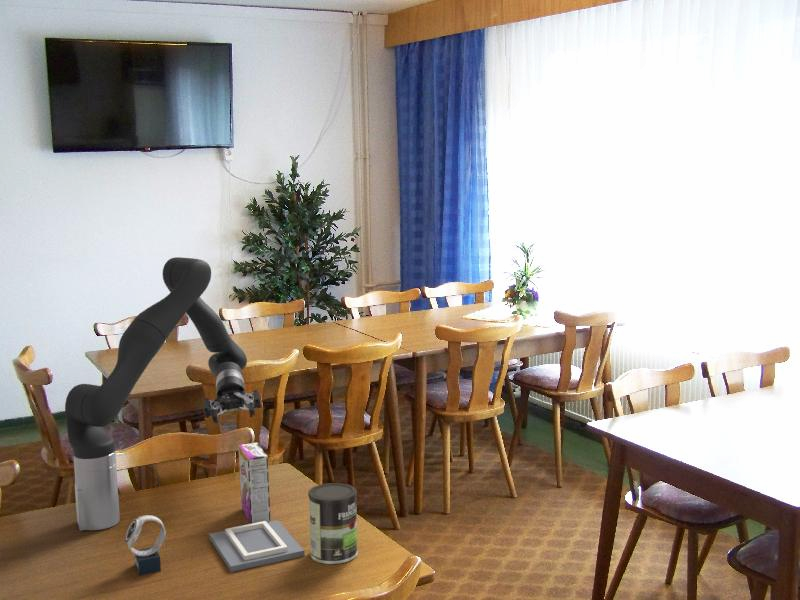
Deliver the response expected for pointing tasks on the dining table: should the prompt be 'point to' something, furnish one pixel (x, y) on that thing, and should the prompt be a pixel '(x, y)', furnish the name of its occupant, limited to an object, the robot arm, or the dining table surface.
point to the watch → (147, 557)
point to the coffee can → (333, 523)
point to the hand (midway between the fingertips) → (233, 417)
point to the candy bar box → (254, 482)
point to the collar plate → (255, 545)
